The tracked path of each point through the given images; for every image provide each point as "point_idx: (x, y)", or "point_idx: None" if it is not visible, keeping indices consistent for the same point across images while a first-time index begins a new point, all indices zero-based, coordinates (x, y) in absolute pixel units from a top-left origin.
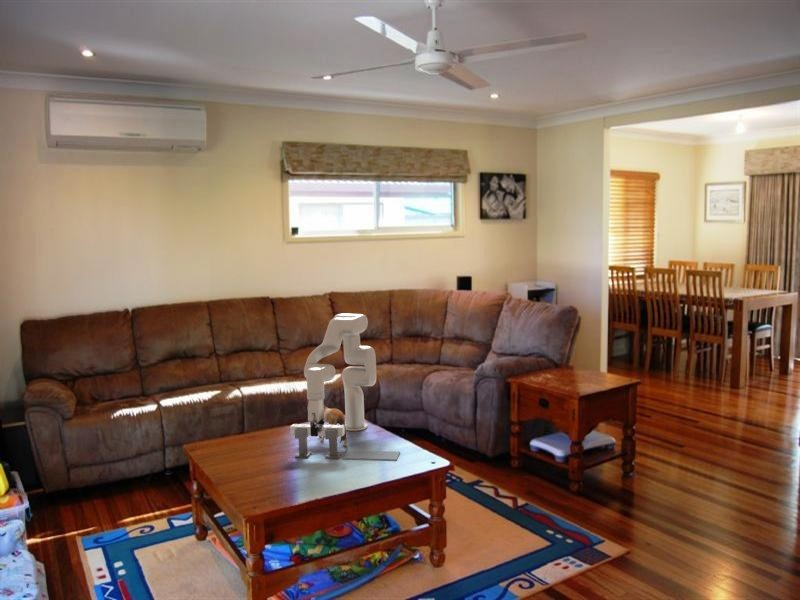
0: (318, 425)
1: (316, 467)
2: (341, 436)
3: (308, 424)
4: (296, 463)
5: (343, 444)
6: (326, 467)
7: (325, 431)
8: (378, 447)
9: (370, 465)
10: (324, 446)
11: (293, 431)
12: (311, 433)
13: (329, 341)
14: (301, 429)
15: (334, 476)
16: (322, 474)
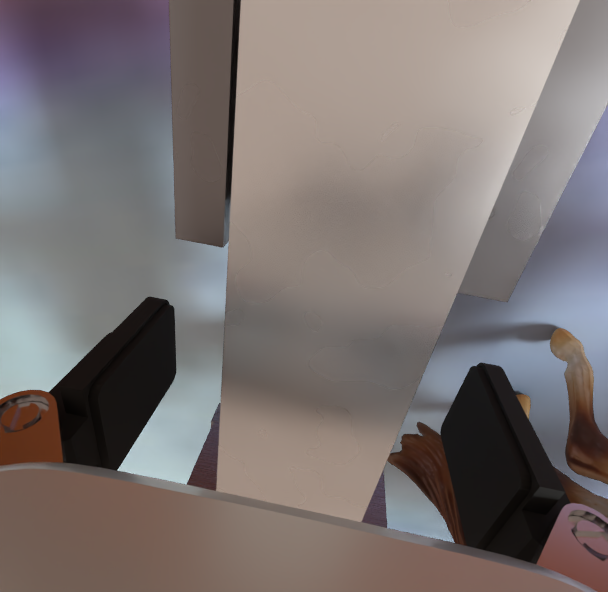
0: (313, 469)
1: (104, 245)
2: (446, 472)
3: (427, 308)
4: (158, 65)
5: (520, 403)
6: (117, 304)
7: (187, 484)
8: (431, 526)
9: (178, 479)
10: (575, 271)
11: None
12: (130, 325)
13: None
14: (211, 138)
15: (3, 346)
16: (6, 288)
